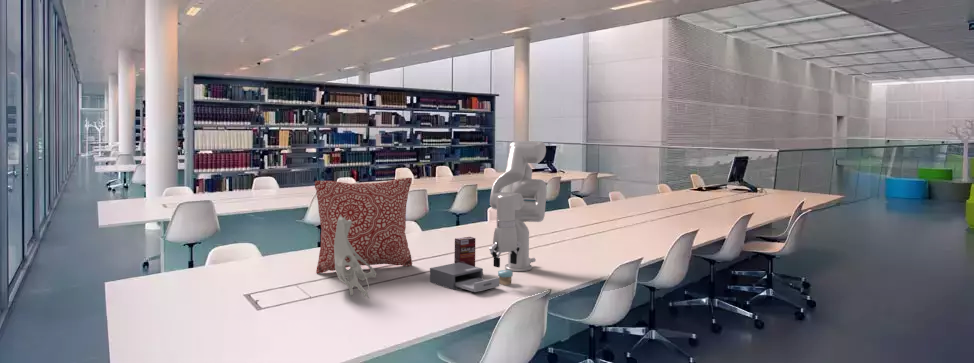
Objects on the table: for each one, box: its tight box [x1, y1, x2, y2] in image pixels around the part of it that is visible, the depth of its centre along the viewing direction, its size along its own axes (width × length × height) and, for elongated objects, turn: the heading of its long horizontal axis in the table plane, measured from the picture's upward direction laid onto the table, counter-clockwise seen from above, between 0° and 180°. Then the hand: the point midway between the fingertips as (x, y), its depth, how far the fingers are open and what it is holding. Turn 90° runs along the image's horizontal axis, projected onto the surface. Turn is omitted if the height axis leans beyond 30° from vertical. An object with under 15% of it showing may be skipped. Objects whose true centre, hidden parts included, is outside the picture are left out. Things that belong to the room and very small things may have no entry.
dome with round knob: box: [497, 269, 514, 278], centre depth 243 cm, size 6×6×2 cm
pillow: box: [314, 177, 413, 274], centre depth 265 cm, size 44×16×42 cm, turn 112°
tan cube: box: [498, 276, 512, 286], centre depth 243 cm, size 4×4×4 cm
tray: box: [455, 276, 500, 293], centre depth 236 cm, size 13×15×4 cm
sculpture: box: [334, 215, 378, 299], centre depth 231 cm, size 32×18×30 cm, turn 13°
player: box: [429, 262, 484, 291], centre depth 245 cm, size 16×16×6 cm
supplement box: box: [453, 236, 476, 267], centre depth 260 cm, size 9×5×16 cm, turn 126°
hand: (505, 265), depth 242 cm, fingers open, 9 cm apart
